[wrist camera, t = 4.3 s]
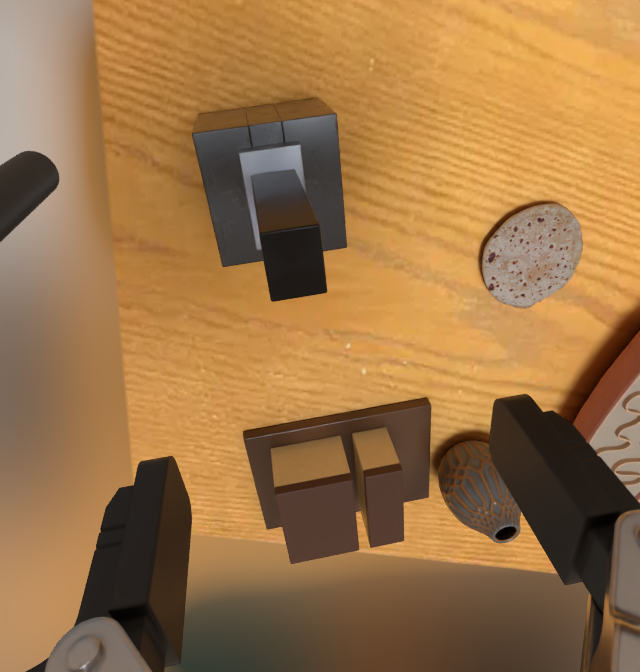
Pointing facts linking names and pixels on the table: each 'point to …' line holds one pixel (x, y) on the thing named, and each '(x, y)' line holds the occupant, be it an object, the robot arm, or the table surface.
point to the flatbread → (532, 255)
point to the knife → (283, 220)
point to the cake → (315, 499)
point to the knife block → (261, 130)
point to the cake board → (348, 447)
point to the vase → (478, 492)
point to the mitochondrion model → (616, 417)
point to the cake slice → (379, 486)
